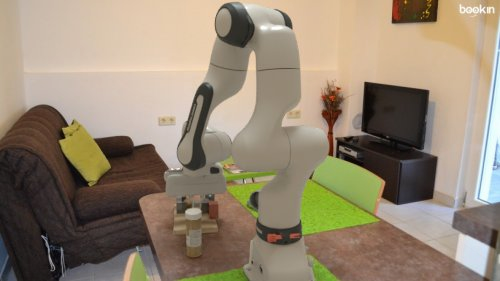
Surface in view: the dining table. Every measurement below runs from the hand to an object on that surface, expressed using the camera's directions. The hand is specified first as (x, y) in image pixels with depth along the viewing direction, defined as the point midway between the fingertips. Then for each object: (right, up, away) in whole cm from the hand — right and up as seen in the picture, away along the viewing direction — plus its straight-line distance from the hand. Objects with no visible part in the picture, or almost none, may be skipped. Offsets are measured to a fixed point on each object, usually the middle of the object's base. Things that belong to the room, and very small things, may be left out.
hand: (196, 207), depth 134 cm
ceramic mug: (+22, -3, +16) cm, 27 cm away
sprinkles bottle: (+2, -11, -19) cm, 22 cm away
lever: (+3, -2, +8) cm, 9 cm away
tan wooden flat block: (-1, -5, +4) cm, 7 cm away
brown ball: (-4, -2, +9) cm, 10 cm away
